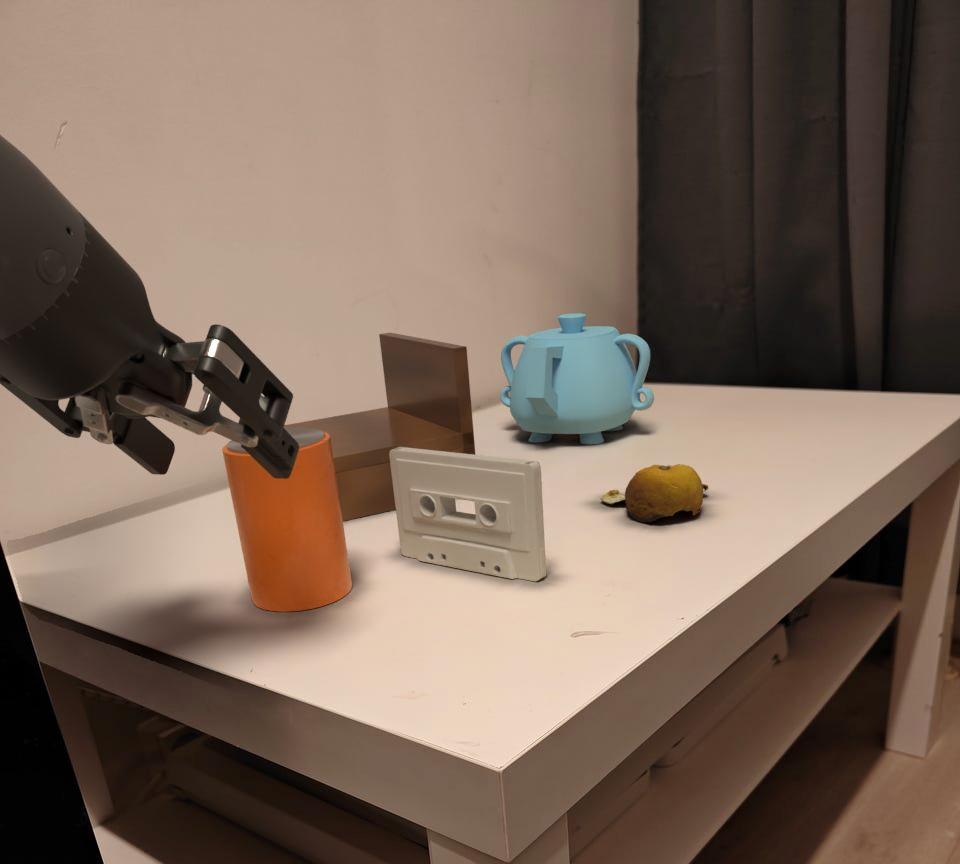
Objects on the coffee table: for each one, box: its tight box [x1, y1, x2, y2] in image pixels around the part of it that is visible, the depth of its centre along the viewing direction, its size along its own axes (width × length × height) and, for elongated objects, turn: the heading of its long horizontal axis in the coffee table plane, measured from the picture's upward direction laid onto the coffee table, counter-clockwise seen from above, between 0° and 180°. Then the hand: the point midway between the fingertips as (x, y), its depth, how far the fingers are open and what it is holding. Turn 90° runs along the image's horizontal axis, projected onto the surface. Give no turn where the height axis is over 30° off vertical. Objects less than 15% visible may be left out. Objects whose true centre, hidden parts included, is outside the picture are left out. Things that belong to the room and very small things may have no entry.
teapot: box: [499, 312, 655, 445], centre depth 95 cm, size 20×17×12 cm
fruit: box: [600, 463, 709, 523], centre depth 71 cm, size 8×8×4 cm
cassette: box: [389, 447, 547, 582], centre depth 62 cm, size 12×2×8 cm, turn 53°
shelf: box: [284, 332, 476, 522], centre depth 81 cm, size 14×16×12 cm
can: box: [221, 428, 353, 613], centre depth 60 cm, size 7×7×10 cm
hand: (225, 462), depth 53 cm, fingers open, 8 cm apart
